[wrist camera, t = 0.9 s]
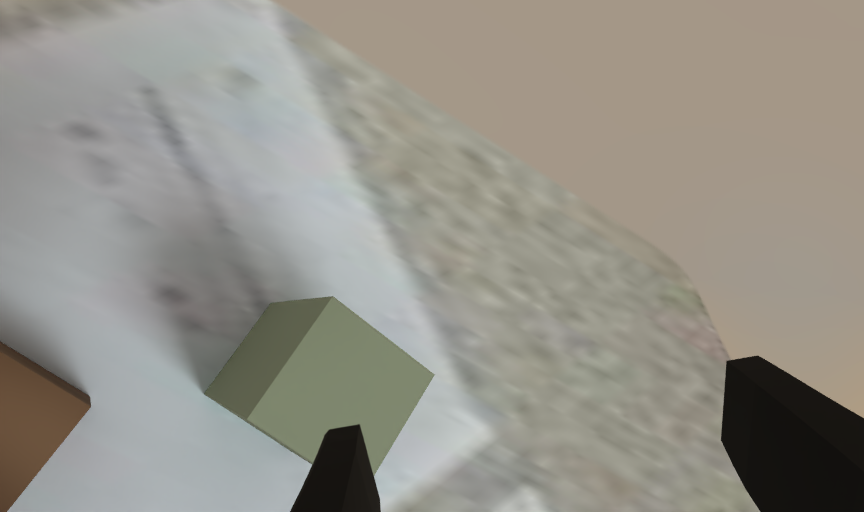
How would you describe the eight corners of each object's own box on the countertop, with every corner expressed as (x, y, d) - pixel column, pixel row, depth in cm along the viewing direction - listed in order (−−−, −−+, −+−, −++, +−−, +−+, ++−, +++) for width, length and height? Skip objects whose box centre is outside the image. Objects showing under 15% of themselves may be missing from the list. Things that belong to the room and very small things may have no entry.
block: (292, 452, 25) (362, 495, 19) (203, 394, 23) (246, 419, 17) (351, 362, 26) (434, 374, 20) (271, 302, 25) (332, 296, 19)
